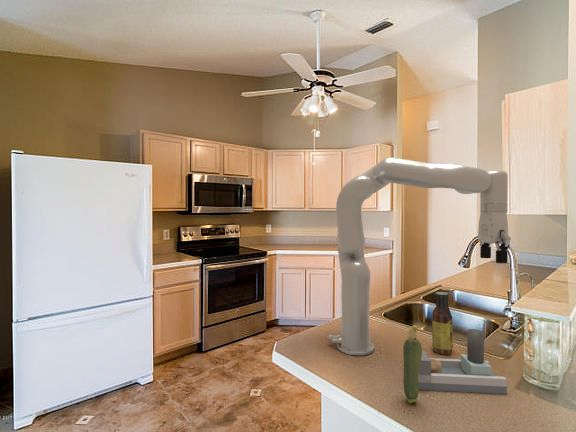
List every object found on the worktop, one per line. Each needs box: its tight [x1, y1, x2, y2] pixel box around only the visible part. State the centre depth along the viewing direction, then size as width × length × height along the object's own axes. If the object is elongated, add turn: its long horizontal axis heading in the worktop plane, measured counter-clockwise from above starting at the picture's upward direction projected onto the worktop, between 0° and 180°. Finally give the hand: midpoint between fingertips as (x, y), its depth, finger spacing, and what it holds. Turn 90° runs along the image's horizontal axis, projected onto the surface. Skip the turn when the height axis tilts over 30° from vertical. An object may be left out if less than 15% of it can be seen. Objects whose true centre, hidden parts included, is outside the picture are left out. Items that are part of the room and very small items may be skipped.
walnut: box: [430, 359, 441, 374], centre depth 89 cm, size 4×4×3 cm
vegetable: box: [402, 324, 423, 405], centre depth 80 cm, size 4×4×20 cm
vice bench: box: [418, 348, 508, 395], centre depth 89 cm, size 23×10×8 cm, turn 84°
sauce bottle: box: [431, 291, 454, 356], centre depth 107 cm, size 6×6×20 cm
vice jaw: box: [460, 328, 492, 376], centre depth 88 cm, size 5×7×12 cm
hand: (493, 260), depth 104 cm, fingers open, 9 cm apart
